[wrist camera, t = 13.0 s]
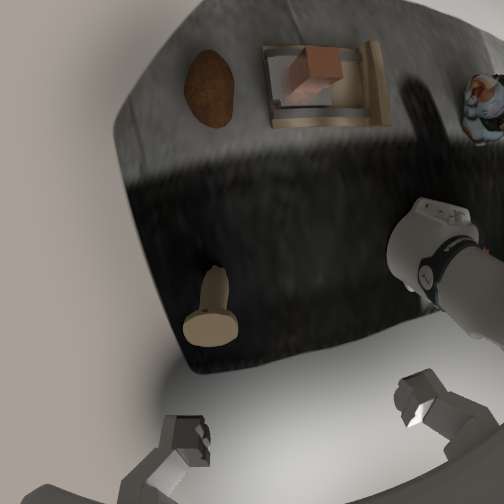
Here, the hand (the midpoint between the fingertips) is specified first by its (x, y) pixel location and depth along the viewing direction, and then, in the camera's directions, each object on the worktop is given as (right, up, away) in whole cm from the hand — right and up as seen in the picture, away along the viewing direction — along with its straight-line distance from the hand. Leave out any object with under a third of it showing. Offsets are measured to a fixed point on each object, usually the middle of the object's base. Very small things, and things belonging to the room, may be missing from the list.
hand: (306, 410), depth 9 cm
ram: (+4, +30, +23) cm, 38 cm away
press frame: (+8, +31, +25) cm, 40 cm away
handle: (-8, +3, +35) cm, 36 cm away
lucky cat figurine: (+42, +35, +26) cm, 60 cm away
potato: (-8, +29, +25) cm, 39 cm away
